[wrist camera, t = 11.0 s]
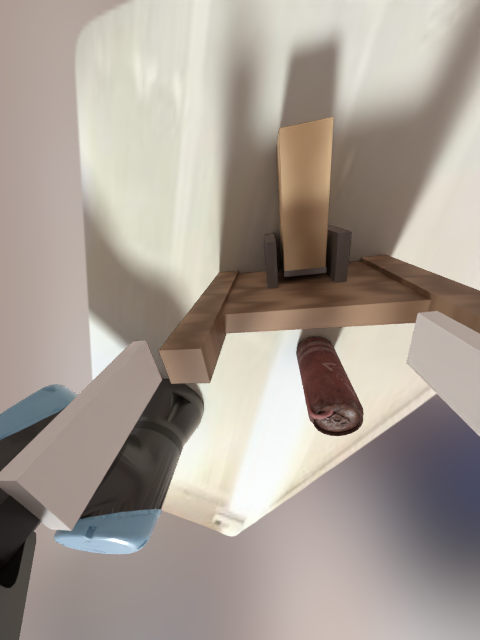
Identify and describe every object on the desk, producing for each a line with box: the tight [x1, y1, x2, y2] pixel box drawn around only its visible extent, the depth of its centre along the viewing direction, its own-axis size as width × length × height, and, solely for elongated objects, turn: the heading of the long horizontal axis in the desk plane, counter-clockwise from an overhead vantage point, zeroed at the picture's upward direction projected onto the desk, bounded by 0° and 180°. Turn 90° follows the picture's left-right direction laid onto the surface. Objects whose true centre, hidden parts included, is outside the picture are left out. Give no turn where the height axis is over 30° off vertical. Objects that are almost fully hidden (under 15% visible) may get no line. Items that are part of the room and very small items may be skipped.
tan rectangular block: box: [277, 117, 333, 277], centre depth 24 cm, size 5×13×7 cm, turn 8°
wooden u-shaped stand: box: [159, 226, 480, 384], centre depth 21 cm, size 23×8×20 cm, turn 98°
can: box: [296, 337, 364, 436], centre depth 30 cm, size 6×6×14 cm
